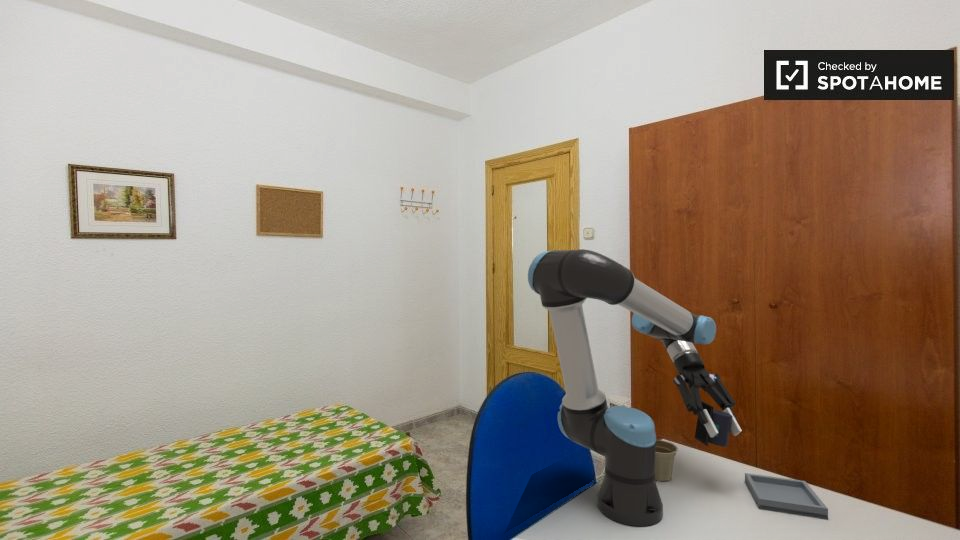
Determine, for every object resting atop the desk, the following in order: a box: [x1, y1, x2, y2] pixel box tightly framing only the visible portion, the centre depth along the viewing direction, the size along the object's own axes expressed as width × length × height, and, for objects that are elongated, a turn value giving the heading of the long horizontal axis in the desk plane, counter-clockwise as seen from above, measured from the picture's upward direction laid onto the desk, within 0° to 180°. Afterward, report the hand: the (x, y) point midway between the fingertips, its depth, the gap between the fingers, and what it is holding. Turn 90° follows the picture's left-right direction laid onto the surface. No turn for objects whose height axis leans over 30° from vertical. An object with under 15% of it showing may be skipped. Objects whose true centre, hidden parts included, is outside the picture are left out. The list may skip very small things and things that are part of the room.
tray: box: [744, 472, 829, 520], centre depth 111 cm, size 14×14×2 cm
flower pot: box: [655, 439, 679, 482], centre depth 124 cm, size 9×9×9 cm
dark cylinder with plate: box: [694, 400, 732, 448], centre depth 116 cm, size 8×6×10 cm
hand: (726, 434), depth 114 cm, fingers closed on dark cylinder with plate, 6 cm apart
